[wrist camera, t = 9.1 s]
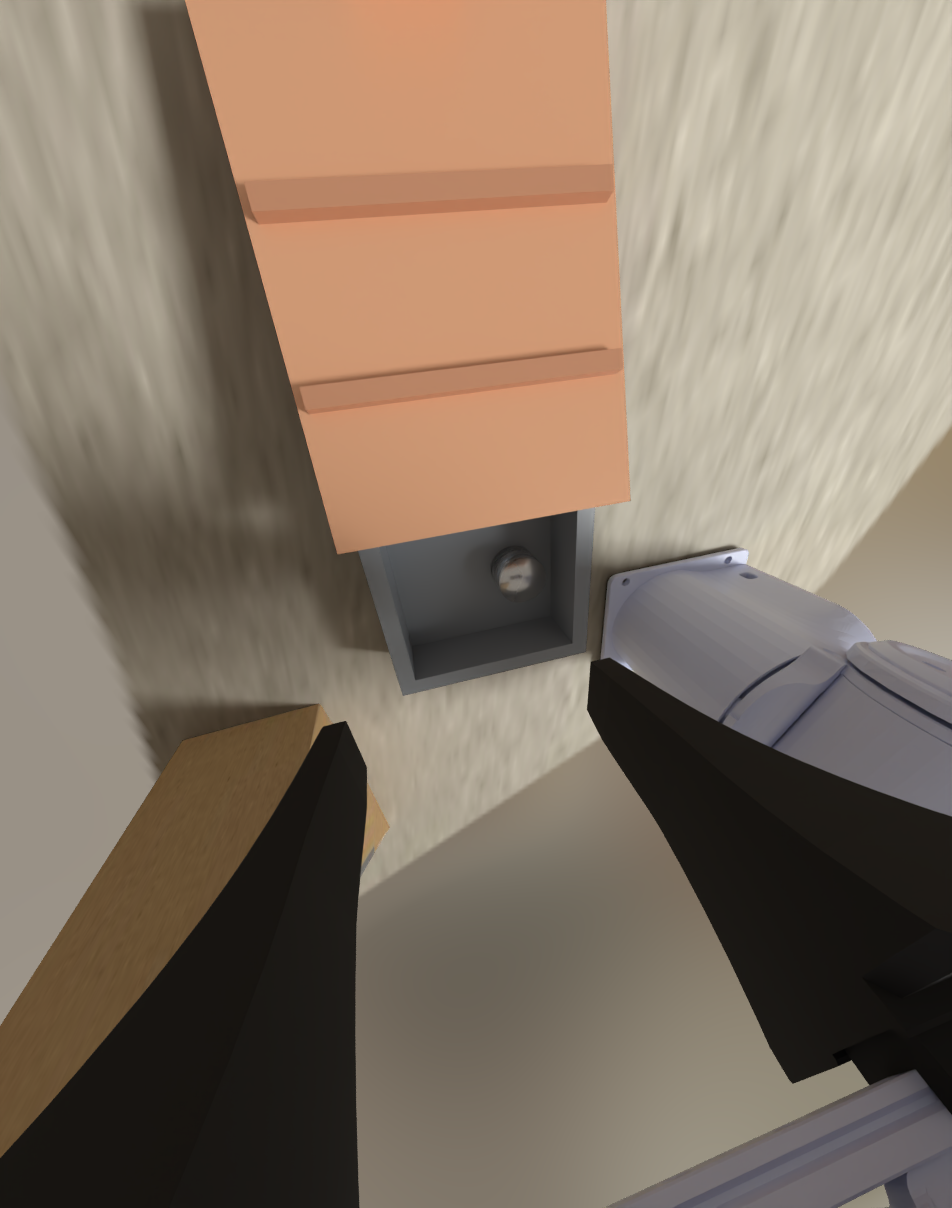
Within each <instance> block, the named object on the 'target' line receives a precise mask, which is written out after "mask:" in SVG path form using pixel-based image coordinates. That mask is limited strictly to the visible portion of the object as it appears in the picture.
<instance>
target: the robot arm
mask: <svg viewBox="0 0 952 1208" xmlns="http://www.w3.org/2000/svg"><path fill="white" fill-rule="evenodd" d="M748 555H749V552H748V550H746V549H744V548H736V549H732V550H727V551H722V552H718V553H713V554H708V555H703V556H699V557H694V558H689V559H685V560H680V561H675V562H670V563H666V564H661V565H656V566H651V567H647V568H642V569H637V570H633V571H628V572H623V573H618V574H615V575H613V576H611V577H610V579H609V580H608V584H607V595H606V606H605V617H604V628H603V638H602V649H601V660H597V661H593V662H591V666H590V679H589V692H588V705H587V710H588V712H589V715H590V717H591V719H592V721H593V723H594V725H595V727H596V729H597V731H598V732H599V734H600V736H601V738H602V740H603V742H604V743H605V745H606V746H607V748H608V750H609V751H610V753H611V754H612V756H613V757H614V759H615V760H616V761H617V763H618V765H619V766H620V768H621V769H622V771H623V772H624V774H625V775H626V777H627V778H628V780H629V781H630V783H631V784H632V786H633V787H634V789H635V790H636V792H637V793H638V795H639V796H640V798H641V799H642V801H643V802H644V803H645V805H646V807H647V808H648V810H649V811H650V813H651V814H652V816H653V817H654V819H655V821H656V822H657V824H658V825H659V827H660V829H661V830H662V832H663V834H664V836H665V838H666V839H667V841H668V843H669V845H670V847H671V849H672V850H673V852H674V854H675V856H676V858H677V859H678V861H679V863H680V865H681V867H682V868H683V870H684V872H685V874H686V876H687V878H688V880H689V882H690V884H691V886H692V888H693V889H694V891H695V893H696V895H697V897H698V899H699V901H700V903H701V904H702V907H703V908H704V910H705V912H706V914H707V916H708V918H709V920H710V922H711V924H712V926H713V928H714V930H715V932H716V934H717V936H718V938H719V940H720V942H721V944H722V946H723V948H724V950H725V952H726V954H727V956H728V958H729V960H730V962H731V965H732V967H733V969H734V971H735V973H736V975H737V977H738V979H739V982H740V984H741V986H742V988H743V990H744V992H745V994H746V996H747V998H748V1000H749V1003H750V1005H751V1007H752V1009H753V1011H754V1013H755V1015H756V1017H757V1020H758V1022H759V1024H760V1026H761V1029H762V1031H763V1033H764V1035H765V1038H766V1039H767V1042H768V1044H769V1046H770V1048H771V1050H772V1052H773V1053H774V1055H775V1057H776V1059H777V1060H778V1062H779V1063H780V1065H781V1067H782V1069H783V1070H784V1072H785V1074H786V1075H787V1077H788V1079H789V1080H790V1081H791V1082H792V1083H796V1082H799V1081H801V1080H804V1079H806V1078H809V1077H811V1076H814V1075H816V1074H819V1073H821V1072H824V1071H827V1070H829V1069H832V1068H835V1067H837V1066H840V1065H842V1064H844V1063H846V1062H849V1061H851V1060H852V1061H853V1063H854V1064H855V1065H856V1067H857V1068H858V1070H859V1071H860V1072H861V1074H862V1075H863V1077H864V1078H865V1080H866V1081H867V1082H868V1084H869V1085H870V1086H867V1087H865V1088H863V1089H861V1090H859V1091H857V1092H855V1093H852V1094H850V1095H848V1096H846V1097H844V1098H842V1099H839V1100H837V1101H835V1102H833V1103H830V1104H828V1105H826V1106H824V1107H822V1108H820V1109H817V1110H815V1111H813V1112H811V1113H809V1114H807V1115H804V1116H803V1117H800V1118H798V1119H796V1120H793V1121H791V1122H789V1123H787V1124H785V1125H783V1126H781V1127H778V1128H776V1129H774V1130H772V1131H770V1132H768V1133H765V1134H763V1135H761V1136H759V1137H757V1138H754V1139H752V1140H750V1141H748V1142H746V1143H744V1144H741V1145H739V1146H737V1147H735V1148H733V1149H730V1150H728V1151H726V1152H724V1153H722V1154H720V1155H717V1156H715V1157H713V1158H711V1159H709V1160H707V1161H704V1162H702V1163H700V1164H698V1165H696V1166H694V1167H691V1168H689V1169H687V1170H685V1171H683V1172H680V1173H678V1174H676V1175H674V1176H672V1177H670V1178H667V1179H665V1180H663V1181H661V1182H659V1183H657V1184H654V1185H652V1186H650V1187H648V1188H646V1189H644V1190H641V1191H639V1192H637V1193H635V1194H633V1195H630V1196H629V1197H626V1198H624V1199H622V1200H620V1201H617V1202H615V1203H613V1204H611V1205H609V1206H607V1207H604V1208H838V1207H840V1206H842V1205H844V1204H845V1203H848V1202H850V1201H852V1200H854V1199H856V1198H857V1197H859V1196H861V1195H863V1194H865V1193H867V1192H869V1191H871V1190H873V1189H875V1188H877V1187H879V1186H881V1185H883V1184H884V1186H885V1190H886V1193H887V1196H888V1199H889V1204H890V1206H889V1207H887V1208H952V660H950V659H947V658H945V657H942V656H940V655H937V654H934V653H932V652H929V651H926V650H923V649H920V648H917V647H914V646H911V645H908V644H904V643H900V642H897V641H892V640H884V641H877V640H876V639H875V637H874V636H873V634H872V633H871V631H870V630H869V629H868V628H867V626H866V625H865V624H864V623H863V622H862V621H861V620H860V619H859V618H857V617H856V616H855V615H854V614H853V613H851V612H850V611H848V610H847V609H845V608H844V607H842V606H840V605H837V604H835V603H833V602H831V601H829V600H827V599H824V598H822V597H820V596H817V595H815V594H813V593H811V592H808V591H806V590H804V589H801V588H799V587H797V586H795V585H792V584H790V583H788V582H785V581H783V580H781V579H779V578H776V577H774V576H772V575H769V574H767V573H765V572H763V571H760V570H758V569H756V568H753V567H751V566H749V565H746V562H747V559H748ZM624 579H626V581H625V582H624V583H622V582H623V580H624ZM631 670H633V671H634V672H635V673H634V672H633V671H631ZM366 813H367V767H366V764H365V762H364V760H363V758H362V755H361V753H360V751H359V749H358V746H357V744H356V742H355V740H354V738H353V735H352V733H351V731H350V729H349V726H348V724H347V722H346V721H344V722H339V723H335V724H331V725H327V726H323V727H322V729H321V730H320V732H319V734H318V736H317V737H316V739H315V741H314V743H313V745H312V747H311V748H310V750H309V752H308V754H307V756H306V757H305V759H304V761H303V763H302V765H301V766H300V768H299V770H298V772H297V773H296V775H295V777H294V779H293V781H292V782H291V784H290V786H289V787H288V789H287V791H286V792H285V794H284V796H283V797H282V799H281V801H280V802H279V804H278V806H277V808H276V809H275V811H274V813H273V814H272V816H271V817H270V819H269V821H268V822H267V824H266V825H265V827H264V828H263V830H262V831H261V833H260V835H259V836H258V838H257V839H256V841H255V842H254V844H253V845H252V847H251V849H250V850H249V852H248V853H247V855H246V856H245V858H244V859H243V861H242V862H241V864H240V865H239V867H238V868H237V869H236V871H235V872H234V874H233V875H232V877H231V878H230V880H229V881H228V882H227V884H226V885H225V887H224V888H223V890H222V891H221V892H220V894H219V895H218V896H217V898H216V899H215V901H214V902H213V903H212V905H211V906H210V908H209V909H208V910H207V912H206V913H205V914H204V916H203V917H202V918H201V920H200V921H199V922H198V924H197V925H196V926H195V928H194V929H193V930H192V931H191V933H190V934H189V935H188V937H187V938H186V939H185V941H184V942H183V943H182V944H181V946H180V947H179V948H178V950H177V951H176V952H175V954H174V955H173V956H172V958H171V959H170V960H169V961H168V963H167V964H166V965H165V967H164V968H163V969H162V970H161V972H160V973H159V974H158V975H157V977H156V978H155V979H154V980H153V982H152V983H151V984H150V985H149V987H148V988H147V989H146V990H145V991H144V993H143V994H142V995H141V996H140V998H139V999H138V1000H137V1001H136V1002H135V1004H134V1005H133V1006H132V1007H131V1008H130V1009H129V1011H128V1012H127V1013H126V1014H125V1015H124V1017H123V1018H122V1019H121V1020H120V1021H119V1023H118V1024H117V1025H116V1026H115V1027H114V1028H113V1030H112V1031H111V1032H110V1033H109V1034H108V1036H107V1037H106V1038H105V1039H104V1040H103V1042H102V1043H101V1044H100V1045H99V1046H98V1047H97V1049H96V1050H95V1051H94V1052H93V1053H92V1055H91V1056H90V1057H89V1058H88V1059H87V1060H86V1062H85V1063H84V1064H83V1065H82V1066H81V1068H80V1069H79V1070H78V1071H77V1072H76V1074H75V1075H74V1076H73V1077H72V1078H71V1079H70V1080H69V1082H68V1083H67V1084H66V1085H65V1086H64V1087H63V1088H62V1090H61V1091H60V1092H59V1093H58V1094H57V1095H56V1097H55V1098H54V1099H53V1100H52V1101H51V1102H50V1103H49V1105H48V1106H47V1107H46V1108H45V1109H44V1110H43V1111H42V1112H41V1113H40V1115H39V1116H38V1117H37V1118H36V1119H35V1120H34V1121H33V1122H32V1123H31V1125H30V1126H29V1127H28V1128H27V1129H26V1130H25V1131H24V1132H23V1133H22V1134H21V1136H20V1137H19V1138H18V1139H17V1140H16V1141H15V1142H14V1143H13V1144H12V1145H11V1147H10V1148H9V1149H8V1150H7V1151H6V1152H5V1153H4V1154H3V1155H2V1157H1V1158H0V1208H359V1186H358V1158H357V1157H358V1155H357V1118H356V1060H355V1059H356V1058H355V1057H356V1056H355V971H356V921H357V907H358V895H359V885H360V875H361V865H362V855H363V845H364V835H365V824H366Z"/></svg>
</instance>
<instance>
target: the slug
mask: <svg viewBox="0 0 952 1208" xmlns="http://www.w3.org/2000/svg"><path fill="white" fill-rule="evenodd" d="M491 575H492V577H493V579H494V581H495V582H496V584H497V586H498V587H499V589H500V591H501V592H502V594H503V595H504V596H505V597H506V598H507V599H508V600H510V601H513V602H525V601H528V600H531V599H532V598H534V597H535V596H537V595H538V594H539V593H540V591H541V590H542V589H543V587H544V585H545V581H546V572H545V569H544V567H543V566H542V564H541V563H540V562H539V561H538V560H537V559H536V558H535V557H534V556H533V555H532V554H531V553H530V552H529V551H528V550H527V549H525V548H524V547H521V546H509V547H506V548H504V549H502V550H501V551H499V552H498V553H497V554H496V556H495V557H494V559H493V561H492V563H491Z"/></svg>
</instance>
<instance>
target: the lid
mask: <svg viewBox="0 0 952 1208" xmlns="http://www.w3.org/2000/svg"><path fill="white" fill-rule="evenodd" d="M185 2H186V6H187V9H188V13H189V17H190V20H191V24H192V28H193V31H194V35H195V39H196V42H197V46H198V49H199V53H200V57H201V60H202V64H203V68H204V71H205V75H206V78H207V82H208V86H209V89H210V93H211V97H212V100H213V104H214V108H215V111H216V115H217V118H218V122H219V126H220V129H221V133H222V137H223V140H224V144H225V148H226V151H227V155H228V158H229V162H230V166H231V169H232V173H233V177H234V180H235V184H236V188H237V191H238V195H239V198H240V202H241V206H242V209H243V213H244V217H245V220H246V224H247V228H248V231H249V235H250V238H251V242H252V246H253V249H254V253H255V257H256V260H257V264H258V267H259V271H260V275H261V278H262V282H263V286H264V289H265V293H266V297H267V300H268V304H269V307H270V311H271V315H272V318H273V322H274V326H275V329H276V333H277V337H278V340H279V344H280V347H281V351H282V355H283V358H284V362H285V366H286V369H287V373H288V377H289V380H290V384H291V387H292V391H293V395H294V398H295V402H296V406H297V409H298V413H299V416H300V420H301V424H302V427H303V431H304V435H305V438H306V442H307V446H308V449H309V453H310V456H311V460H312V464H313V467H314V471H315V475H316V478H317V482H318V486H319V489H320V493H321V496H322V500H323V504H324V507H325V511H326V515H327V518H328V522H329V526H330V529H331V533H332V536H333V540H334V544H335V547H336V551H337V554H343V553H348V552H354V551H359V550H365V549H370V548H376V547H381V546H386V545H392V544H397V543H403V542H408V541H414V540H419V539H425V538H430V537H436V536H441V535H447V534H452V533H457V532H463V531H468V530H474V529H479V528H485V527H490V526H496V525H501V524H507V523H512V522H518V521H523V520H528V519H534V518H539V517H545V516H550V515H556V514H561V513H567V512H572V511H578V510H583V509H589V508H594V507H599V506H605V505H610V504H616V503H621V502H627V501H630V481H629V461H628V441H627V420H626V400H625V380H624V360H623V339H622V319H621V299H620V278H619V258H618V238H617V217H616V197H615V177H614V157H613V136H612V116H611V96H610V75H609V55H608V35H607V14H606V0H185Z"/></svg>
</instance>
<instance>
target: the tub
mask: <svg viewBox="0 0 952 1208" xmlns="http://www.w3.org/2000/svg"><path fill="white" fill-rule="evenodd" d="M594 516H595V507H594V508H589V509H583V510H578V511H572V512H567V513H561V514H556V515H550V516H545V517H539V518H534V519H528V520H523V521H518V522H512V523H507V524H501V525H496V526H490V527H485V528H479V529H474V530H468V531H463V532H457V533H452V534H447V535H441V536H436V537H430V538H425V539H419V540H414V541H408V542H403V543H397V544H392V545H386V546H381V547H376V548H370V549H365V550H359V551H358V553H359V556H360V559H361V563H362V566H363V569H364V572H365V575H366V579H367V582H368V585H369V588H370V591H371V595H372V598H373V601H374V604H375V608H376V611H377V614H378V617H379V620H380V624H381V627H382V630H383V633H384V636H385V640H386V643H387V646H388V649H389V652H390V656H391V659H392V662H393V665H394V669H395V672H396V675H397V678H398V681H399V685H400V688H401V691H402V694H403V696H404V695H408V694H413V693H417V692H421V691H425V690H429V689H433V688H438V687H442V686H446V685H450V684H454V683H458V682H463V681H467V680H471V679H475V678H479V677H483V676H488V675H492V674H496V673H500V672H504V671H508V670H513V669H517V668H521V667H525V666H529V665H533V664H538V663H542V662H546V661H550V660H554V659H559V658H563V657H567V656H571V655H575V654H579V653H584V652H586V643H587V627H588V611H589V595H590V579H591V563H592V548H593V532H594ZM509 546H521V547H524V548H525V549H527V550H528V551H529V552H530V553H531V554H532V555H533V556H534V557H535V558H536V559H537V560H538V561H539V562H540V563H541V564H542V566H543V567H544V569H545V572H546V581H545V585H544V587H543V589H542V590H541V591H540V593H539V594H538V595H537V596H535V597H534V598H532V599H531V600H528V601H525V602H513V601H510V600H508V599H507V598H506V597H505V596H504V595H503V594H502V592H501V591H500V589H499V587H498V586H497V584H496V582H495V581H494V579H493V577H492V575H491V563H492V561H493V559H494V557H495V556H496V554H497V553H498V552H499V551H501V550H502V549H504V548H506V547H509Z"/></svg>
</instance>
